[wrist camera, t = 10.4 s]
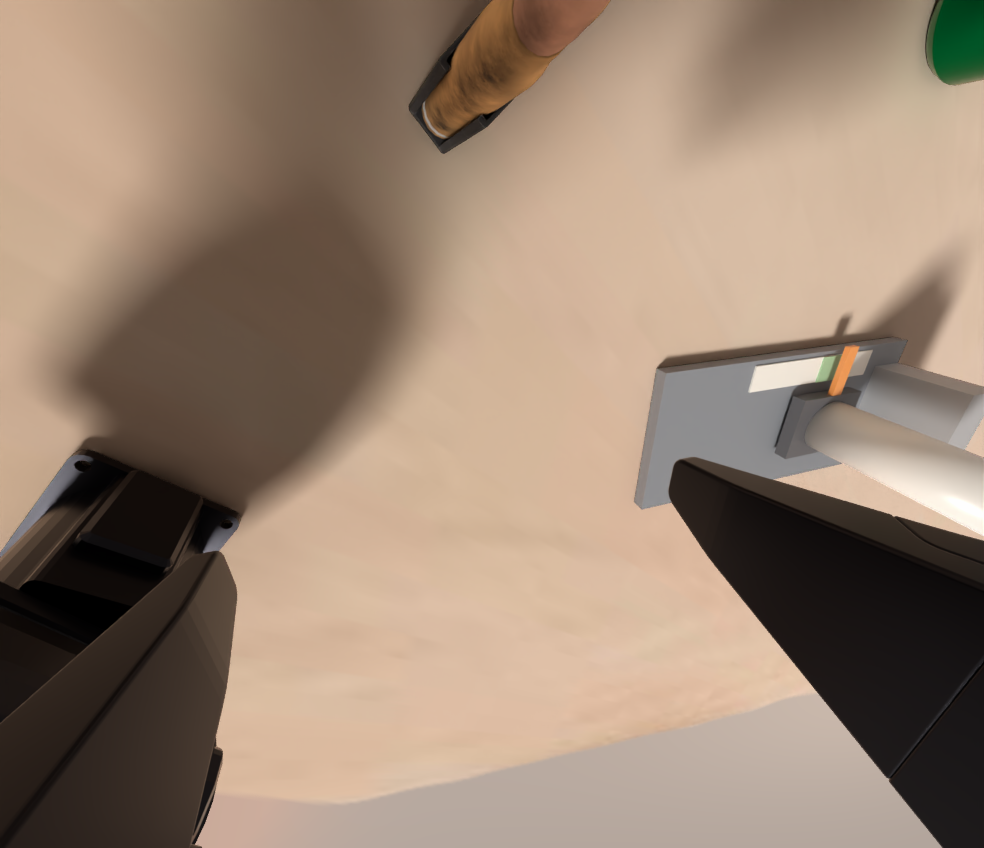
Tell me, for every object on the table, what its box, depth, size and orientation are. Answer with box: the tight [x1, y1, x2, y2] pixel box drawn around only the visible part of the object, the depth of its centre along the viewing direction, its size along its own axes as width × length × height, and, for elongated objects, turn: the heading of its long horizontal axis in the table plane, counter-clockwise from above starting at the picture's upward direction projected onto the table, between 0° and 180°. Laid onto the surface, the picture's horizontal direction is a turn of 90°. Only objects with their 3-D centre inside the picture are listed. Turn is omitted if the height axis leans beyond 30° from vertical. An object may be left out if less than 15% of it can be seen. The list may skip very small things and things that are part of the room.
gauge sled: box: [775, 345, 984, 536], centre depth 22 cm, size 4×7×10 cm, turn 1°
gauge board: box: [634, 337, 984, 509], centre depth 25 cm, size 18×9×6 cm, turn 91°
